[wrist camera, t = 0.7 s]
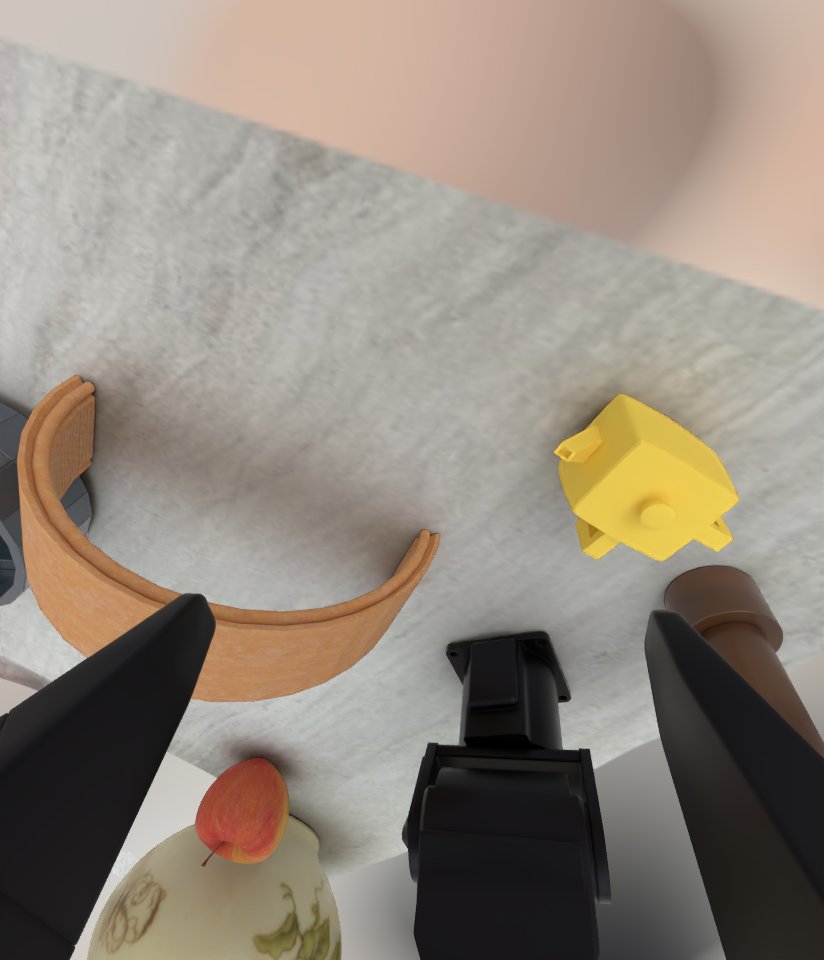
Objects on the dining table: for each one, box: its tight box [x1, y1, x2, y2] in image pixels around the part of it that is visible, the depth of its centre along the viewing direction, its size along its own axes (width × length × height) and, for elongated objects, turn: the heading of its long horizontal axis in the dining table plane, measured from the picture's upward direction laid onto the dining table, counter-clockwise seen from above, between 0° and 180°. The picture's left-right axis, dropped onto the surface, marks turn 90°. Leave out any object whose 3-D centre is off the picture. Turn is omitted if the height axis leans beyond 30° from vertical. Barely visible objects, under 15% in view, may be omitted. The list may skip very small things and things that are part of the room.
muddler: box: [664, 566, 824, 758], centre depth 22 cm, size 4×4×11 cm
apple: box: [195, 758, 289, 867], centre depth 41 cm, size 7×7×8 cm
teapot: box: [554, 394, 739, 561], centre depth 20 cm, size 8×6×5 cm
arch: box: [17, 375, 440, 702], centre depth 23 cm, size 6×20×10 cm, turn 66°
